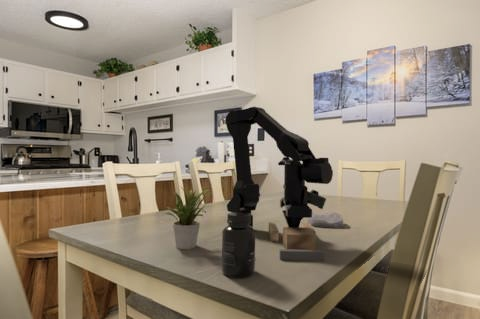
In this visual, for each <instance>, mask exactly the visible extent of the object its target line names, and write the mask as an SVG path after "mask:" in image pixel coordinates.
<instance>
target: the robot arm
mask: <svg viewBox="0 0 480 319" xmlns="http://www.w3.org/2000/svg"><path fill="white" fill-rule="evenodd" d="M225 124H226V128H227V131H228V133H229V135H230V136H231V138H232V144H233V154H234V164H235V176H236V182H235V184H234V186H233V188H232V197H231V199H230V200H229V201H228V203H227V204H226V208H227V212H229V213H234V212H243V213H249V214H251V223H250V226H251V227H252V228H253V227H254V215H253V214H252V211H256V210H257V205H258V203H259V202H260V197H261V193H260V185H259V184H258V183H255V182H254V180H253V178H252V168H251V159H250V148H249V135H250V133H251V129H252V125H256V124H257V125H258V126H259V127H260V128H261V129H262V130H263V131H264V132H265V133H267V135H269V136H270V137H271V138H272V139H273V140H274V142H275V143H276V147H277V149H278V150H279V151H280V152H281V154H282V155H283V157H282V159H281V160H280V161H279V162H278V163H277V165H278V166H284V170H283V171H284V172H283V173H284V181H283V182H284V184H282V185H283V186H282V187H283V192H284V194H283V197H281V199H280V200H279V207H280V208H281V209H282V208H285V209H283V210H282V215H283V216H284V219H285V222H286V224H287V227H300V226H301V223H302V222H301V221H302V220H303V219H304V218H307V219H308V218H311V217H312V213H313V210H312V208H311V207H310V206H309V205H312V206H315V207H317V208H318V209H320V210H323V208H324V206H325V203H326V200H327V198H326V197H324V196H321V195H320V194H319V191H317V190H315V189H311V190H310V191H308V187H307V185H306V183H309V184H320V185H321V184H324V185H329V184H330V183H331V181H332V180H333V176H334V172H333V168H332V165H331V164H330V162H329V157H318V158H316V156H315V155H314V153H313V151H312V150H311V148H310V145H309V144H310V143H309V142H308V140H307V139H306V138H304V137H303V136H300V135H299V134H297V133H293V132H292V131H290V130H288V129H287V128H285V127H284V126H283V125H282V124H281V123H280V122H278V120H276V119H275V118H274V117H273V116H271V115H270V114H269V113H268V112H267V111H266V109H264V108H262V107H258V106H252V107H248V108H245V109H244V108H242V109H238V110H230V111H229V112H227V114H226V116H225ZM301 162H302V163H301ZM253 229H254V228H253Z"/></svg>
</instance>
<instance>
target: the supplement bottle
mask: <svg viewBox="0 0 480 319" xmlns="http://www.w3.org/2000/svg"><path fill="white" fill-rule="evenodd" d="M251 215H252V213H251V214H249V213H243V212H234V213H232V212H229V213H227V220H226V223H227V224H228V225H227V226H225V227H224V228H223V230H222V232H221V233H222V235H221V236H222V239H221V241H222V242H221V272H222V273H223V274H224V275H225V276H227V277H229V278H238V279H240V278H248V277H251V276H252V275H253V274H254V273H255V270H256V230H255V229H254V228H252V227H251V226H250V223H251Z"/></svg>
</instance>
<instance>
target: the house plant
mask: <svg viewBox="0 0 480 319" xmlns="http://www.w3.org/2000/svg"><path fill="white" fill-rule="evenodd" d="M180 188H181V189H182V191H183V192H184V197H185V204H184V202H183V200H182V197H181V196H180V195H179V194H178V193H177V192H176V191H174V190H172V192H173V194H174V196H175V198H176V203H174V204H175V206H176V207H175V209H174V208H171V207H168V206H167V207H166V206H165V208H166V209H168V210H169V211H170V212H172V213H170V212H166V213H164V215H168V216H169V215H170V216H172V217H174V218H175V220H176V221H175V222H172V227H173V234H174V241H175V248H177V249H178V250H179V249H180V250H191V249H195V248H196V247H197V242H198V236H199V229H200V225H201V222H200V221H197V220H196V218H197V217H199V216H200V217H203V218H205V216H204V214H207V211H206V210H204V209H205V208H206V207H207V206H209V204H207V205H203V206H202V207H201V208H199V206H201V205H202V202H203V201H204V200H205V199H206V198H207V197H211V196H212V195H208V194H210V192H208V191H210V189H206V190H203V191H201V192H200V193H196V191H194V192H193V190H192V189H190V190H189V194H188V193H187V192H186V189H185V188H184V187H183V186H180ZM206 192H208V193H206ZM204 193H205V194H204ZM160 194H162V195H163V193H160ZM197 210H198V211H197ZM200 212H203V213H204V214H200ZM173 213H174V214H175V215H176V216H177V217H176V216H175V215H174V214H173ZM178 219H179V220H178Z"/></svg>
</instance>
